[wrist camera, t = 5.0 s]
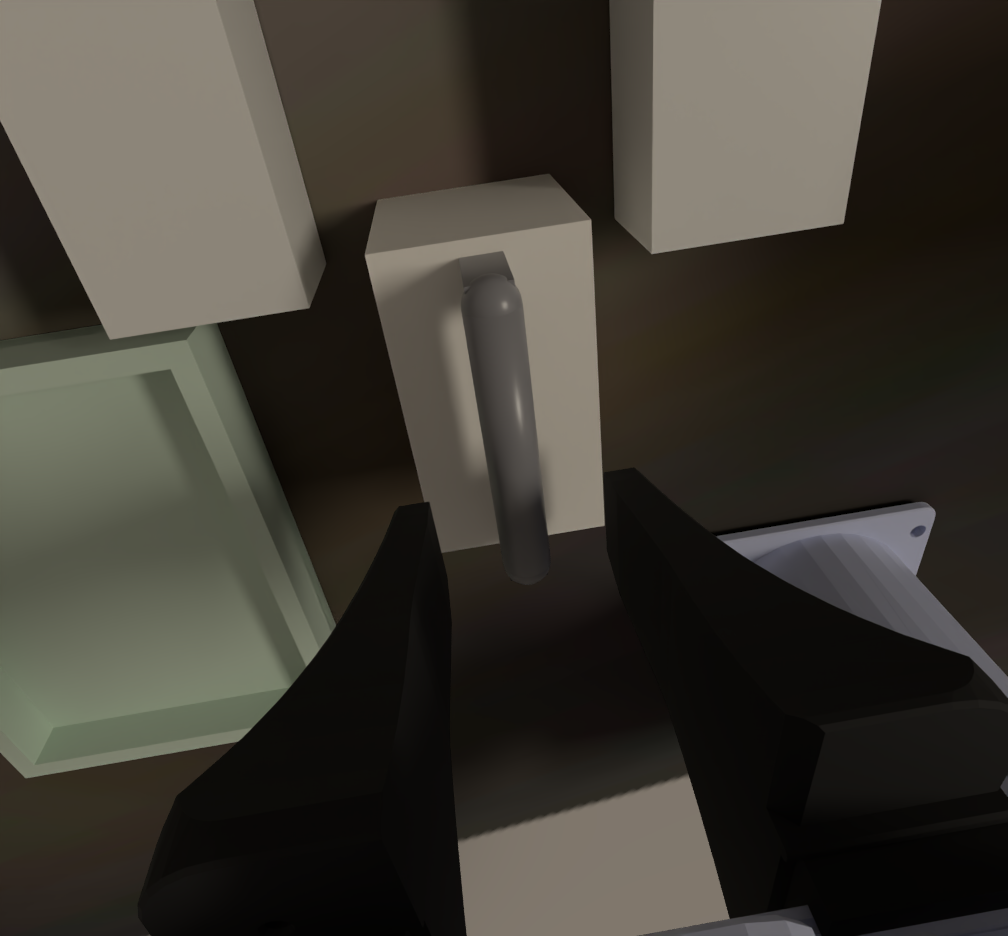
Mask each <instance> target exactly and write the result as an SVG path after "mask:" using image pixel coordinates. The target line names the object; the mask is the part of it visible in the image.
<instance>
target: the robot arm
mask: <svg viewBox="0 0 1008 936" xmlns="http://www.w3.org/2000/svg"><path fill="white" fill-rule="evenodd" d="M604 492H605V516H606V539H607V552H608V555H609V559H610V562H611V566H612V570H613V573H614V576H615V580H616V583H617V586H618V590H619V593H620V596H621V598H622V600H623V603H624V605H625V607H626V610H627V612H628V614H629V617H630V619H631V621H632V624H633V626H634V628H635V631H636V633H637V635H638V638H639V640H640V642H641V645H642V647H643V649H644V652H645V654H646V656H647V658H648V661H649V663H650V665H651V668H652V670H653V672H654V675H655V677H656V679H657V681H658V684H659V686H660V689H661V691H662V694H663V697H664V699H665V702H666V704H667V707H668V710H669V713H670V716H671V720H672V723H673V726H674V729H675V732H676V735H677V738H678V742H679V745H680V748H681V751H682V754H683V757H684V761H685V764H686V767H687V771H688V774H689V777H690V780H691V783H692V787H693V790H694V794H695V797H696V800H697V804H698V807H699V810H700V814H701V817H702V821H703V824H704V828H705V831H706V835H707V838H708V842H709V845H710V849H711V852H712V856H713V859H714V863H715V866H716V870H717V873H718V877H719V881H720V885H721V888H722V892H723V896H724V899H725V903H726V907H727V910H728V914H729V917H730V919H728V920H722V921H717V922H711V923H705V924H700V925H694V926H689V927H684V928H678V929H672V930H667V931H662V932H656V933H650V934H645V935H639V936H1008V677H1007V676H1006V675H1005V673H1004V672H1003V671H1002V670H1001V669H1000V668H999V667H998V666H997V665H996V664H995V663H994V661H993V660H992V659H991V658H990V657H989V656H988V655H987V654H986V653H985V652H984V650H983V649H982V648H981V647H980V646H979V645H978V644H977V643H976V642H975V641H974V639H973V638H972V637H971V636H970V635H969V634H968V633H967V632H966V631H965V630H964V629H963V627H962V626H961V625H960V624H959V623H958V622H957V621H956V620H955V619H954V618H953V616H952V615H951V614H950V613H949V612H948V611H947V610H946V609H945V608H944V607H943V606H942V604H941V603H940V602H939V601H938V600H937V599H936V598H935V597H934V596H933V595H932V593H931V592H930V591H929V590H928V589H927V588H926V587H925V586H924V585H923V584H922V583H921V581H920V580H919V579H918V578H917V577H916V573H917V570H918V567H919V564H920V561H921V558H922V555H923V552H924V549H925V546H926V543H927V540H928V537H929V534H930V531H931V528H932V525H933V522H934V519H935V513H936V512H935V511H934V509H933V508H932V507H931V506H930V505H929V504H927V503H925V502H916V503H910V504H904V505H898V506H892V507H886V508H880V509H875V510H869V511H863V512H857V513H851V514H845V515H839V516H833V517H827V518H821V519H815V520H809V521H803V522H797V523H791V524H786V525H780V526H774V527H768V528H762V529H756V530H750V531H744V532H738V533H732V534H726V535H720V536H715V535H713V534H712V533H711V532H709V531H708V530H707V529H705V528H704V527H703V526H702V525H700V524H699V523H698V522H697V521H695V520H694V519H693V518H692V517H690V516H689V515H688V514H687V513H685V512H684V511H683V510H682V509H681V508H680V507H678V506H677V505H676V504H675V503H674V502H673V501H671V500H670V499H669V498H668V497H667V496H666V495H665V494H663V493H662V492H661V491H660V490H659V489H658V488H657V487H656V486H654V485H653V484H652V483H651V482H650V481H649V480H648V479H647V478H646V477H645V476H644V475H642V474H641V473H640V472H639V471H638V470H636V469H635V468H629V469H623V470H617V471H610V472H604ZM451 627H452V621H451V610H450V599H449V589H448V579H447V574H446V569H445V565H444V561H443V557H442V552H441V548H440V544H439V540H438V536H437V531H436V527H435V523H434V519H433V515H432V510H431V506H430V502H423V503H417V504H411V505H405V506H399V507H398V508H397V510H396V511H395V512H394V515H393V517H392V520H391V523H390V525H389V528H388V530H387V532H386V535H385V537H384V539H383V542H382V544H381V546H380V548H379V550H378V552H377V554H376V557H375V558H374V560H373V562H372V564H371V566H370V568H369V570H368V572H367V574H366V576H365V578H364V580H363V582H362V584H361V585H360V587H359V589H358V591H357V592H356V594H355V596H354V597H353V599H352V601H351V602H350V604H349V606H348V608H347V609H346V611H345V613H344V614H343V616H342V618H341V619H340V621H339V622H338V624H337V625H336V627H335V628H334V630H333V631H332V633H331V634H330V636H329V637H328V639H327V640H326V641H325V643H324V644H323V646H322V647H321V648H320V650H319V651H318V652H317V654H316V655H315V656H314V658H313V659H312V660H311V662H310V663H309V664H308V665H307V667H306V668H305V669H304V670H303V672H302V673H301V674H300V675H299V677H298V678H297V679H296V680H295V682H294V683H293V684H292V685H291V686H290V688H289V689H288V690H287V691H286V692H285V693H284V695H283V696H282V697H281V698H280V699H279V700H278V701H277V702H276V704H275V705H274V706H273V707H272V708H271V709H270V710H269V711H268V712H267V713H266V714H265V715H264V716H263V717H262V718H261V719H260V720H259V721H258V722H257V723H256V724H255V725H254V727H253V728H252V729H251V730H250V731H249V732H248V733H247V734H246V735H245V736H244V737H243V738H242V739H241V740H240V741H238V742H237V743H236V744H235V745H234V746H233V747H232V748H231V749H230V750H229V751H228V752H227V753H226V754H224V755H223V756H222V757H221V758H220V759H219V760H218V761H217V762H215V763H214V764H213V765H212V766H211V767H210V768H209V769H207V770H206V771H205V772H204V773H203V774H202V775H201V776H199V777H198V778H197V779H196V780H195V781H194V782H193V783H191V784H190V785H189V786H188V787H187V788H186V789H184V790H183V791H182V792H181V793H180V794H178V795H177V796H176V798H175V801H174V804H173V806H172V809H171V811H170V813H169V815H168V817H167V820H166V822H165V824H164V826H163V829H162V831H161V834H160V837H159V839H158V842H157V845H156V848H155V851H154V854H153V858H152V861H151V864H150V867H149V870H148V873H147V876H146V880H145V883H144V886H143V889H142V892H141V895H140V898H139V902H138V918H139V919H140V921H141V922H142V923H143V925H144V926H145V928H146V929H147V931H148V932H149V934H150V935H151V936H467V935H466V926H465V916H464V906H463V895H462V884H461V873H460V862H459V852H458V840H457V828H456V816H455V804H454V792H453V779H452V765H451V752H450V678H451Z"/></svg>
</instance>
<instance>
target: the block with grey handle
mask: <svg viewBox="0 0 1008 936" xmlns="http://www.w3.org/2000/svg"><path fill="white" fill-rule="evenodd" d="M365 258H366V263H367V267H368V271H369V275H370V279H371V283H372V287H373V292H374V296H375V300H376V304H377V308H378V312H379V316H380V320H381V325H382V329H383V333H384V337H385V341H386V345H387V349H388V354H389V358H390V362H391V366H392V370H393V374H394V378H395V382H396V387H397V391H398V395H399V399H400V403H401V407H402V411H403V416H404V420H405V424H406V428H407V432H408V436H409V440H410V444H411V449H412V453H413V457H414V461H415V465H416V469H417V473H418V478H419V482H420V486H421V490H422V494H423V498H424V502H430V506H431V510H432V515H433V519H434V523H435V527H436V531H437V536H438V540H439V544H440V548H441V552H442V553H443V552H449V551H455V550H461V549H467V548H473V547H479V546H485V545H491V544H497V543H500V547H501V553H502V559H503V565H504V568H505V571H506V573H507V574H508V576H509V577H510V579H511V581H512V580H513V581H515V582H517V583H520V584H524V585H531V584H535V583H537V582H539V581H540V580H542V579H543V578H544V577H545V576H546V575H548V571H549V568H550V563H551V558H550V549H549V540H548V535H551V534H557V533H563V532H569V531H575V530H581V529H587V528H593V527H599V526H605V525H604V502H603V479H602V456H601V433H600V410H599V386H598V363H597V340H596V317H595V294H594V271H593V248H592V225H591V219H590V218H589V217H588V215H587V214H586V213H585V212H584V211H583V210H582V209H581V208H580V207H579V206H578V205H577V203H576V202H575V201H574V200H573V199H572V198H571V197H570V196H569V195H568V194H567V193H566V191H565V190H564V189H563V188H562V187H561V186H560V185H559V184H558V183H557V182H556V181H555V179H554V178H553V177H552V176H551V175H550V174H544V175H537V176H531V177H524V178H518V179H511V180H505V181H498V182H492V183H485V184H479V185H472V186H466V187H459V188H453V189H446V190H440V191H433V192H427V193H420V194H414V195H407V196H401V197H394V198H388V199H381V200H377V204H376V208H375V212H374V217H373V221H372V225H371V230H370V234H369V238H368V243H367V247H366V251H365Z"/></svg>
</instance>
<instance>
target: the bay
mask: <svg viewBox="0 0 1008 936" xmlns="http://www.w3.org/2000/svg"><path fill="white" fill-rule="evenodd" d="M880 6H881V0H609V7H610V48H611V90H612V132H613V173H614V215H615V219H616V220H617V221H618V222H619V223H620V224H621V225H622V226H623V227H624V228H625V229H626V230H627V231H628V232H629V233H630V234H631V235H632V236H633V237H634V238H635V239H636V240H638V241H639V242H640V243H641V244H642V245H643V246H644V247H645V248H646V249H647V250H648V251H649V252H650V253H651V254H655V253H661V252H668V251H674V250H680V249H687V248H693V247H699V246H706V245H712V244H718V243H725V242H731V241H737V240H744V239H750V238H756V237H763V236H769V235H775V234H782V233H788V232H794V231H801V230H807V229H813V228H820V227H826V226H832V225H839V224H844V218H845V212H846V206H847V200H848V194H849V189H850V183H851V177H852V171H853V165H854V159H855V153H856V147H857V142H858V136H859V130H860V124H861V118H862V112H863V106H864V100H865V94H866V89H867V83H868V77H869V71H870V65H871V59H872V53H873V47H874V41H875V36H876V30H877V24H878V18H879V12H880ZM0 121H1V123H2V125H3V127H4V129H5V131H6V133H7V135H8V137H9V139H10V141H11V143H12V145H13V147H14V149H15V151H16V153H17V155H18V157H19V159H20V161H21V163H22V165H23V167H24V169H25V171H26V173H27V175H28V177H29V179H30V181H31V183H32V185H33V187H34V189H35V191H36V193H37V195H38V197H39V199H40V201H41V203H42V205H43V207H44V209H45V211H46V213H47V215H48V217H49V219H50V221H51V223H52V225H53V227H54V229H55V231H56V233H57V235H58V237H59V239H60V241H61V243H62V245H63V247H64V249H65V251H66V253H67V255H68V257H69V259H70V261H71V263H72V265H73V267H74V269H75V271H76V273H77V275H78V277H79V279H80V281H81V283H82V285H83V287H84V289H85V291H86V293H87V295H88V297H89V299H90V301H91V303H92V305H93V307H94V309H95V311H96V313H97V315H98V317H99V319H100V321H101V323H102V325H103V327H104V329H105V331H106V333H107V335H108V337H109V339H110V340H111V339H117V338H124V337H130V336H136V335H143V334H149V333H155V332H162V331H168V330H174V329H181V328H187V327H193V326H200V325H206V324H212V323H219V322H225V321H231V320H238V319H244V318H250V317H257V316H263V315H269V314H275V313H282V312H288V311H294V310H301V309H307V308H310V305H311V303H312V300H313V297H314V295H315V292H316V290H317V287H318V284H319V282H320V279H321V277H322V274H323V271H324V269H325V266H326V260H325V257H324V253H323V249H322V246H321V242H320V239H319V235H318V231H317V228H316V224H315V221H314V217H313V213H312V210H311V206H310V203H309V199H308V195H307V192H306V188H305V185H304V181H303V177H302V174H301V170H300V167H299V163H298V159H297V156H296V152H295V149H294V145H293V141H292V138H291V134H290V131H289V127H288V123H287V120H286V116H285V113H284V109H283V106H282V102H281V98H280V95H279V91H278V88H277V84H276V80H275V77H274V73H273V70H272V66H271V62H270V59H269V55H268V52H267V48H266V44H265V41H264V37H263V34H262V30H261V26H260V23H259V19H258V16H257V12H256V8H255V5H254V1H253V0H0Z"/></svg>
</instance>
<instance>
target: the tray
mask: <svg viewBox="0 0 1008 936" xmlns="http://www.w3.org/2000/svg"><path fill="white" fill-rule="evenodd" d="M335 627H336V624H335V621H334V619H333V616H332V614H331V611H330V609H329V606H328V603H327V601H326V598H325V596H324V593H323V591H322V588H321V586H320V583H319V581H318V578H317V576H316V573H315V571H314V568H313V565H312V563H311V560H310V558H309V555H308V553H307V550H306V548H305V545H304V543H303V540H302V538H301V535H300V533H299V530H298V527H297V525H296V522H295V520H294V517H293V515H292V512H291V510H290V507H289V505H288V502H287V500H286V497H285V495H284V492H283V489H282V487H281V484H280V482H279V479H278V477H277V474H276V472H275V469H274V467H273V464H272V462H271V459H270V457H269V454H268V451H267V449H266V446H265V444H264V441H263V439H262V436H261V434H260V431H259V429H258V426H257V424H256V421H255V419H254V416H253V413H252V411H251V408H250V406H249V403H248V401H247V398H246V396H245V393H244V391H243V388H242V386H241V383H240V381H239V378H238V375H237V373H236V370H235V368H234V365H233V363H232V360H231V358H230V355H229V353H228V350H227V348H226V345H225V343H224V340H223V337H222V335H221V332H220V330H219V327H218V325H217V323H212V324H206V325H200V326H193V327H187V328H181V329H174V330H168V331H162V332H155V333H149V334H143V335H136V336H130V337H124V338H117V339H111V340H110V339H109V337H108V335H107V333H106V331H105V329H104V327H103V325H96V326H90V327H83V328H77V329H71V330H64V331H58V332H52V333H45V334H39V335H33V336H26V337H20V338H14V339H7V340H1V341H0V753H1V754H2V755H3V756H4V757H5V758H6V759H7V760H8V761H9V762H10V763H11V764H12V765H13V766H14V767H15V768H16V769H17V770H18V771H19V772H20V773H21V774H22V775H23V776H24V777H25V778H30V777H36V776H41V775H47V774H53V773H59V772H65V771H70V770H76V769H82V768H88V767H93V766H99V765H105V764H111V763H117V762H122V761H128V760H134V759H140V758H145V757H151V756H157V755H163V754H169V753H174V752H180V751H186V750H192V749H197V748H203V747H209V746H215V745H221V744H226V743H232V742H238V741H240V740H241V739H242V738H243V737H244V736H245V735H246V734H247V733H248V732H249V731H250V730H251V729H252V728H253V727H254V725H255V724H256V723H257V722H258V721H259V720H260V719H261V718H262V717H263V716H264V715H265V714H266V713H267V712H268V711H269V710H270V709H271V708H272V707H273V706H274V705H275V704H276V702H277V701H278V700H279V699H280V698H281V697H282V696H283V695H284V693H285V692H286V691H287V690H288V689H289V688H290V686H291V685H292V684H293V683H294V682H295V680H296V679H297V678H298V677H299V675H300V674H301V673H302V672H303V670H304V669H305V668H306V667H307V665H308V664H309V663H310V662H311V660H312V659H313V658H314V656H315V655H316V654H317V652H318V651H319V650H320V648H321V647H322V646H323V644H324V643H325V641H326V640H327V639H328V637H329V636H330V634H331V633H332V631H333V630H334V628H335Z"/></svg>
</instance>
